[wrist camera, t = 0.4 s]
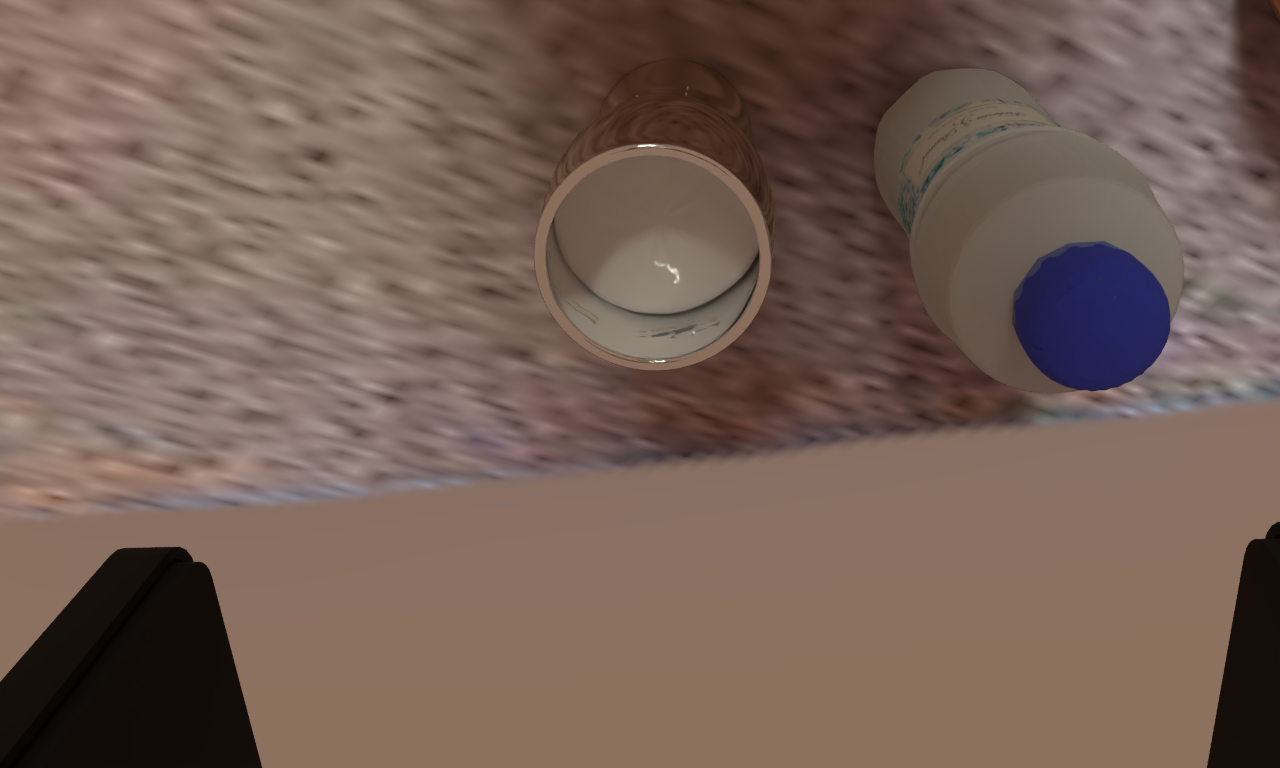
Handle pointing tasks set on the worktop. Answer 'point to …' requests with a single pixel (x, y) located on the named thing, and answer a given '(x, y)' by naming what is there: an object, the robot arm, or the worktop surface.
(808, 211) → the worktop surface
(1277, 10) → the bowl
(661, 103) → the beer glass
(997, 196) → the bottle
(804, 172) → the worktop surface
